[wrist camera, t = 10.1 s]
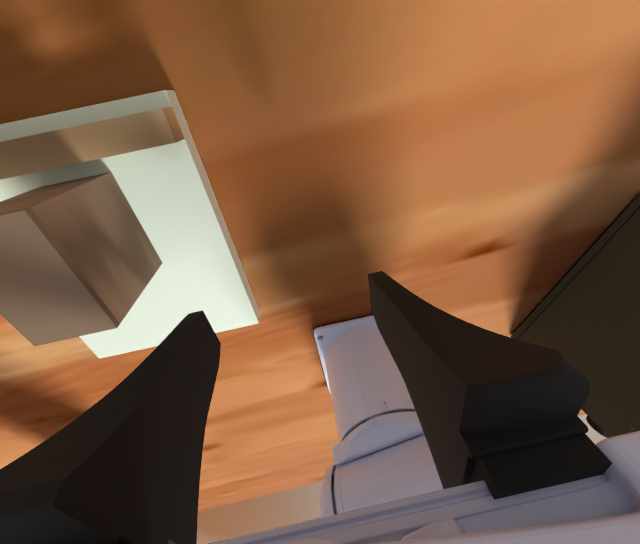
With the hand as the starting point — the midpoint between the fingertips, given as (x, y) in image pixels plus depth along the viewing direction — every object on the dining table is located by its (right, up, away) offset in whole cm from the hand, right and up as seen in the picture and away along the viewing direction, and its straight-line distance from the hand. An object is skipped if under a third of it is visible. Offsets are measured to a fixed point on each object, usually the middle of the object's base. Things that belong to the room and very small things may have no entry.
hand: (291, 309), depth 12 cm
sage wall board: (-12, +3, +7) cm, 14 cm away
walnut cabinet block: (-12, +4, +5) cm, 13 cm away
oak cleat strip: (-13, +8, +2) cm, 15 cm away
